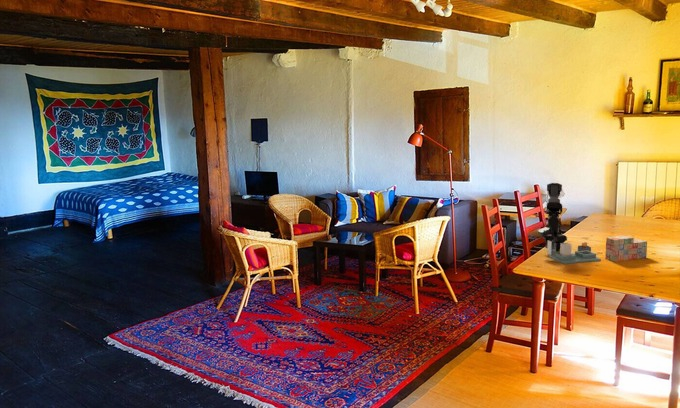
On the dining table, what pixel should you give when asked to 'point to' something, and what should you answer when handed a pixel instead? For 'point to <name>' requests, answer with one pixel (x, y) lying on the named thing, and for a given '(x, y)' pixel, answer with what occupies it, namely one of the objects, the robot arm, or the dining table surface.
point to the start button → (584, 244)
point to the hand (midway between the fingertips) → (552, 249)
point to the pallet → (573, 255)
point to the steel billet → (551, 247)
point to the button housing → (584, 248)
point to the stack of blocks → (625, 248)
